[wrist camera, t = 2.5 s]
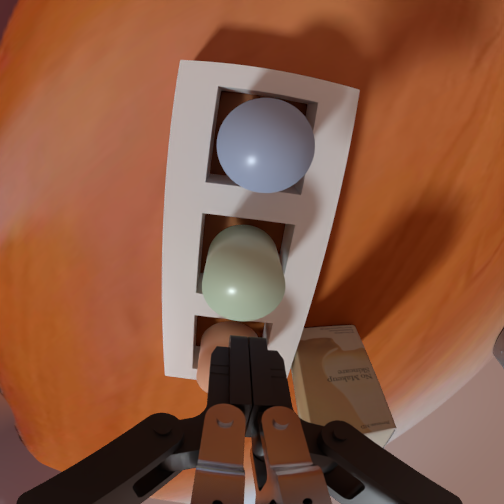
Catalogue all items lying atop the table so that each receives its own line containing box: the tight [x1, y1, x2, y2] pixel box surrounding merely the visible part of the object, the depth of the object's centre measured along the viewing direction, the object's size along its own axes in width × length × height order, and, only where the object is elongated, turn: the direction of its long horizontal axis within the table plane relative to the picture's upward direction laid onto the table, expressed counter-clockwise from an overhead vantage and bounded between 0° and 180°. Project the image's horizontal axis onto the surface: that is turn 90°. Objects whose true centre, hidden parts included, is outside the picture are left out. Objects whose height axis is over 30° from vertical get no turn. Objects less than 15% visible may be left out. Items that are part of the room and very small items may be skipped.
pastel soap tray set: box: [162, 60, 360, 380], centre depth 22 cm, size 11×25×3 cm, turn 171°
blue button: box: [217, 98, 315, 193], centre depth 16 cm, size 5×5×4 cm
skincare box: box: [291, 325, 396, 448], centre depth 22 cm, size 6×4×12 cm
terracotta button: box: [196, 321, 258, 393], centre depth 22 cm, size 5×5×4 cm
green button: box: [202, 225, 285, 321], centre depth 19 cm, size 5×5×4 cm
